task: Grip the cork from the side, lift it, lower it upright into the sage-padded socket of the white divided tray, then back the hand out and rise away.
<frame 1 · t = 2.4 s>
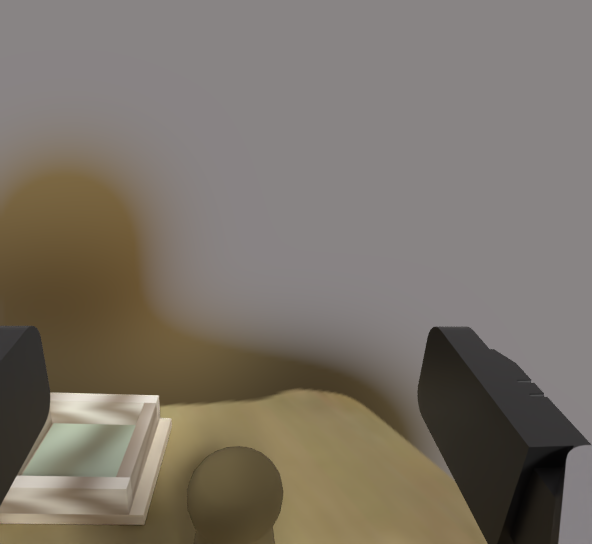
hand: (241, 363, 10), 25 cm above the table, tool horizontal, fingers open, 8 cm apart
white divided tray: (26, 467, 38), on the table
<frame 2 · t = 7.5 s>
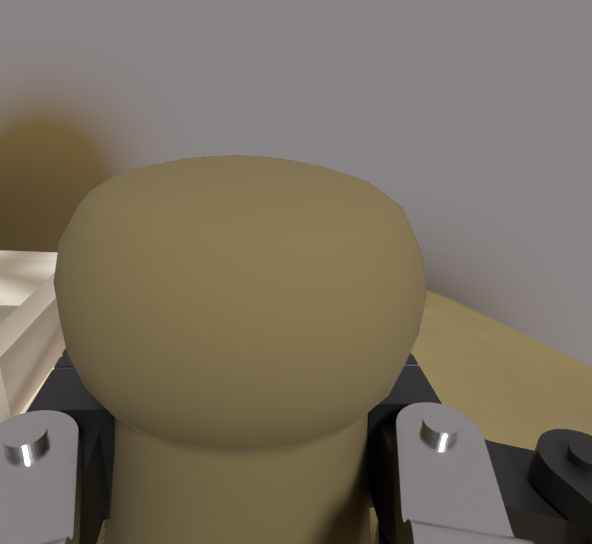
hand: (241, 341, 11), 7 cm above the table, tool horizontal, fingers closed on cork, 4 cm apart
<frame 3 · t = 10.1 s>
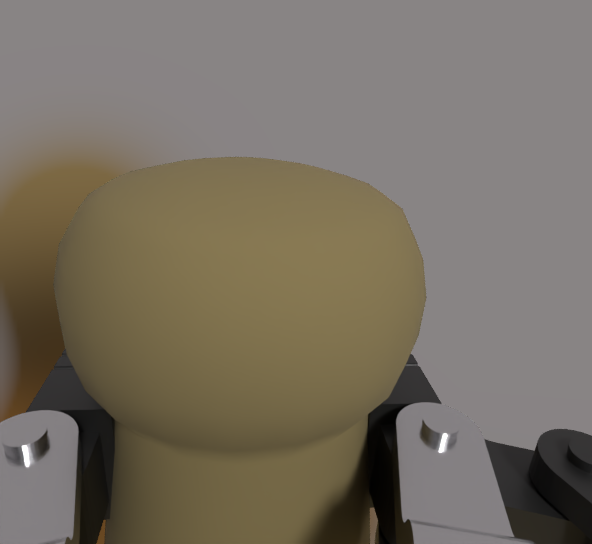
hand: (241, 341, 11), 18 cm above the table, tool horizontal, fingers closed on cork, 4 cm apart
when the fingers open (9 cm above the table, at t = 12.6 s): cork moves 1 cm, resting on white divided tray.
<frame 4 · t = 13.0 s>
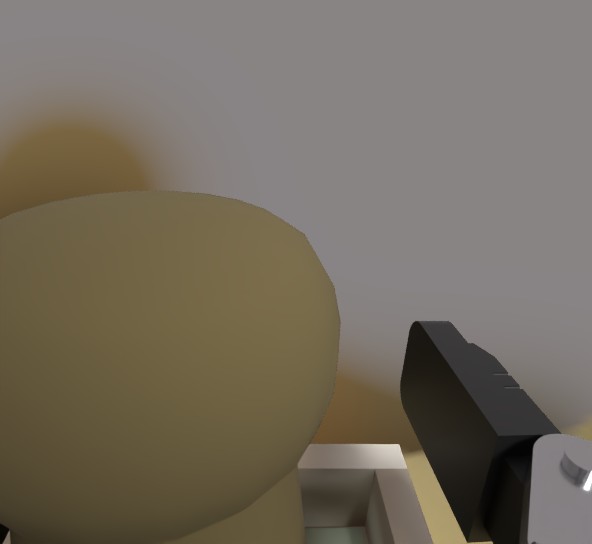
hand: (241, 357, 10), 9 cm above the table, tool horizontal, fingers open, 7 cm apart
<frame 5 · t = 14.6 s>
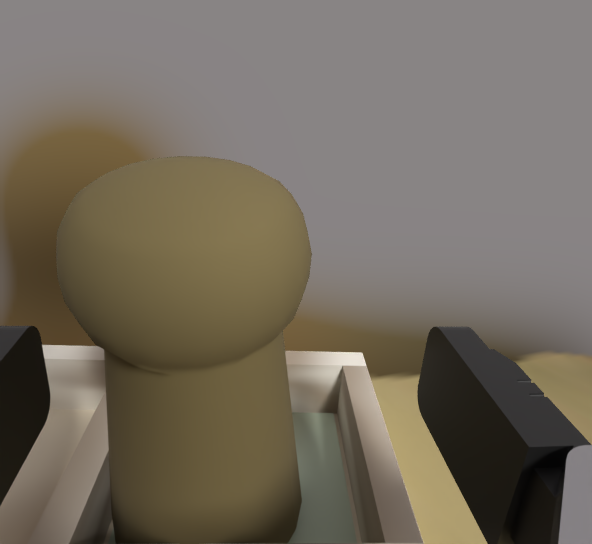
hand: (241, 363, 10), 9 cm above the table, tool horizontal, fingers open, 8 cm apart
cork: (209, 496, 16), point 2 cm above the table, touching white divided tray
white divided tray: (110, 508, 17), on the table
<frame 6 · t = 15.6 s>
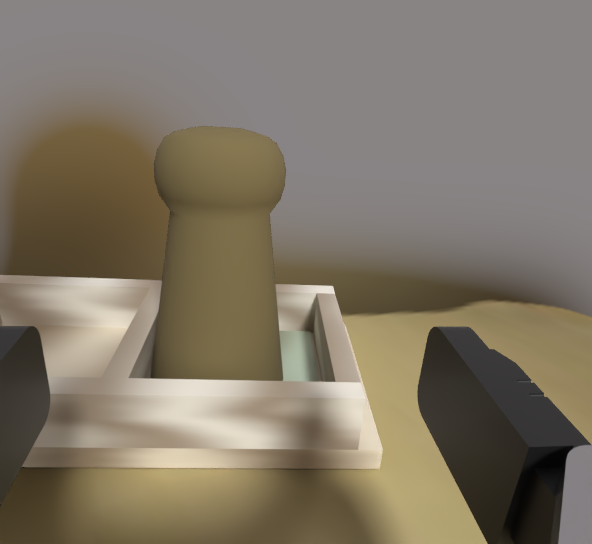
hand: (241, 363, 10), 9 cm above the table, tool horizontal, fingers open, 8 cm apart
cork: (218, 378, 22), point 1 cm above the table, touching white divided tray
white divided tray: (145, 388, 23), on the table
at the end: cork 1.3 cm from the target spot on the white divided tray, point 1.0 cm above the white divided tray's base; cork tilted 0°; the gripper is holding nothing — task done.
